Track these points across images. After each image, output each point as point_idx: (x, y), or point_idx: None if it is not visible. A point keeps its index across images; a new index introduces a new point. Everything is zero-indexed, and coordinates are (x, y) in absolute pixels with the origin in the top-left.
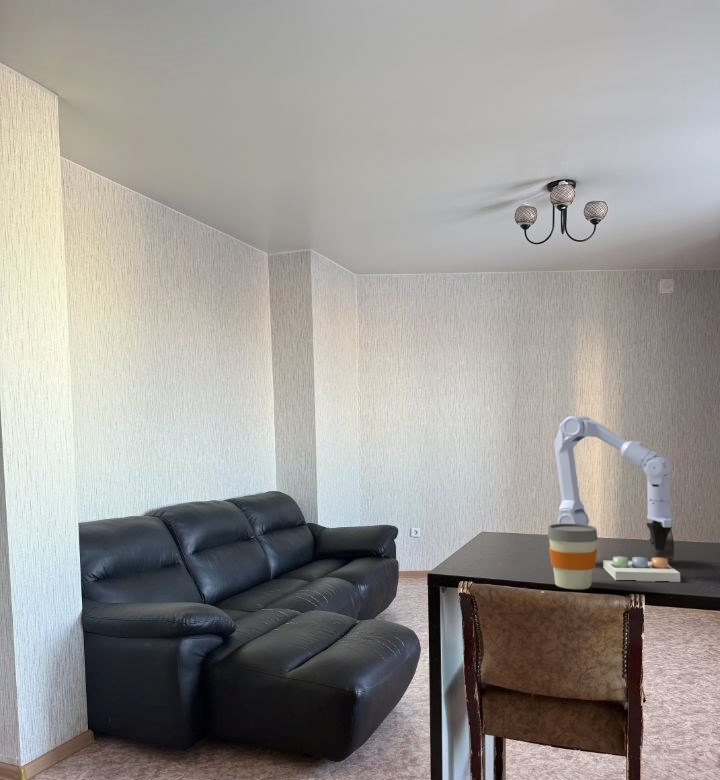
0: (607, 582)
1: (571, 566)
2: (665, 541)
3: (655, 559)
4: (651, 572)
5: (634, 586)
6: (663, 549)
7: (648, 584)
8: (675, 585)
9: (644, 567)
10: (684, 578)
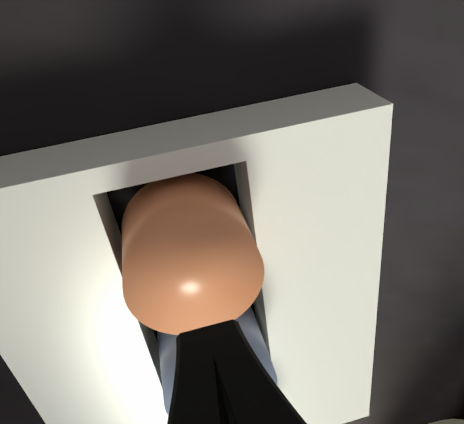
0: (382, 392)
1: None
2: (289, 402)
3: (234, 309)
4: (377, 281)
5: (450, 307)
6: (237, 327)
7: (415, 258)
8: (440, 125)
9: (256, 324)
10: (219, 27)
